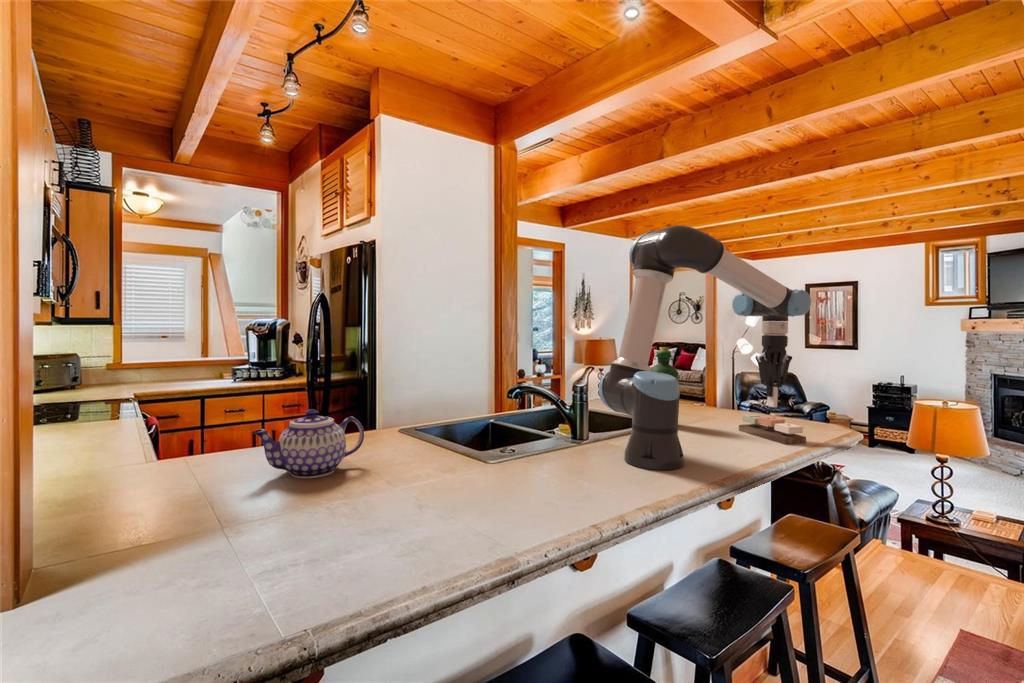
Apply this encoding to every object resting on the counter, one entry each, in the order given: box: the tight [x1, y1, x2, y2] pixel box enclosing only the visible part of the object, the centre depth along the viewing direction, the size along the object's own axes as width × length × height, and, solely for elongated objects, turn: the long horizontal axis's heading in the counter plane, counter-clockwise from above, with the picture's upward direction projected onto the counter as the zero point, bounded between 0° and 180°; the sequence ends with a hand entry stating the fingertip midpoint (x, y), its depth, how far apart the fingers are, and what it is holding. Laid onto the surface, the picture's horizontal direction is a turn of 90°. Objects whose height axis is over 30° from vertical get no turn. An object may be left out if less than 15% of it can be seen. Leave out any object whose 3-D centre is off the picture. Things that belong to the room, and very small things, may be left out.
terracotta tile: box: [758, 416, 786, 432], centre depth 164 cm, size 6×6×4 cm
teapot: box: [253, 408, 365, 479], centre depth 118 cm, size 25×15×15 cm, turn 125°
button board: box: [738, 423, 807, 445], centre depth 165 cm, size 8×20×2 cm, turn 17°
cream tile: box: [774, 422, 804, 437], centre depth 158 cm, size 6×6×4 cm
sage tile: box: [742, 414, 763, 427], centre depth 171 cm, size 6×6×4 cm
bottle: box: [650, 346, 680, 381], centre depth 180 cm, size 11×11×28 cm
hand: (772, 406), depth 164 cm, fingers closed
